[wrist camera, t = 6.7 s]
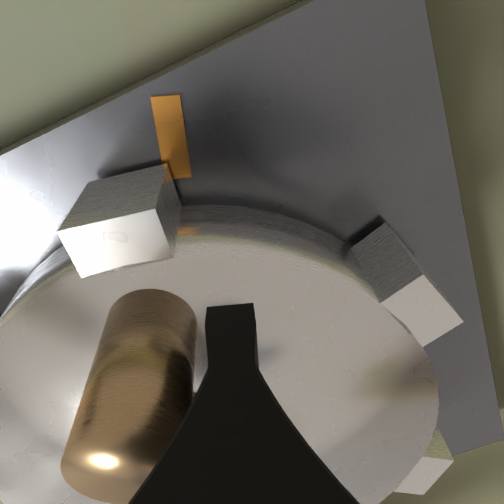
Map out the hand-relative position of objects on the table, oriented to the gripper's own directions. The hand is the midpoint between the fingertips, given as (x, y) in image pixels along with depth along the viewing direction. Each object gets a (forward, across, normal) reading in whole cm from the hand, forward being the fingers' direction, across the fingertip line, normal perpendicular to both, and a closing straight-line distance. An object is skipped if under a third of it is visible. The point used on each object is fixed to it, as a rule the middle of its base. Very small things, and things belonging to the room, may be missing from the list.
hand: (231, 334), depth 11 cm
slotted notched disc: (+4, +1, +6) cm, 7 cm away
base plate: (+6, +1, +6) cm, 8 cm away
